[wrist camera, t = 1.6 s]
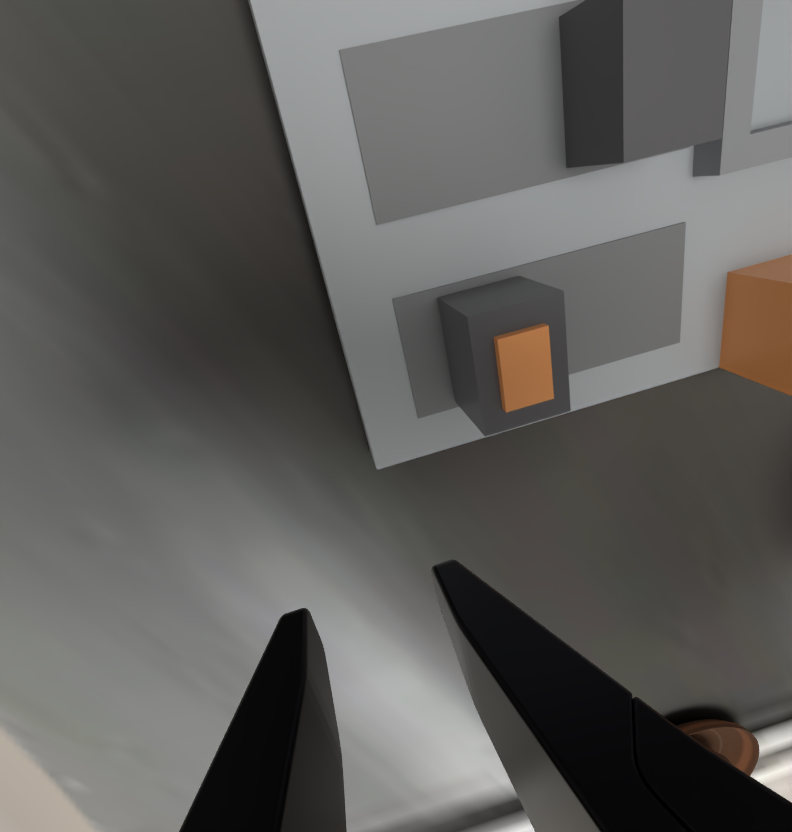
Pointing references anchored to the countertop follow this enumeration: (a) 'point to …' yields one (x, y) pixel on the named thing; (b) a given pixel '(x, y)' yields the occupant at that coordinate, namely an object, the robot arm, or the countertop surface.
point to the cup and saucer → (726, 741)
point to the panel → (532, 179)
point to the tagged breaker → (507, 352)
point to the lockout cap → (759, 324)
